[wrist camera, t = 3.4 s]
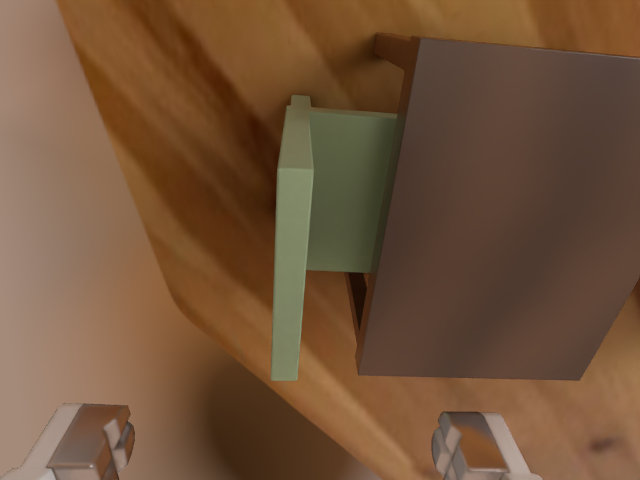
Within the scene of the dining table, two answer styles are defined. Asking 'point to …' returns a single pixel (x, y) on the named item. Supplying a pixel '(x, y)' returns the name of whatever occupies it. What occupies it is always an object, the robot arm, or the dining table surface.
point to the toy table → (502, 212)
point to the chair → (323, 208)
